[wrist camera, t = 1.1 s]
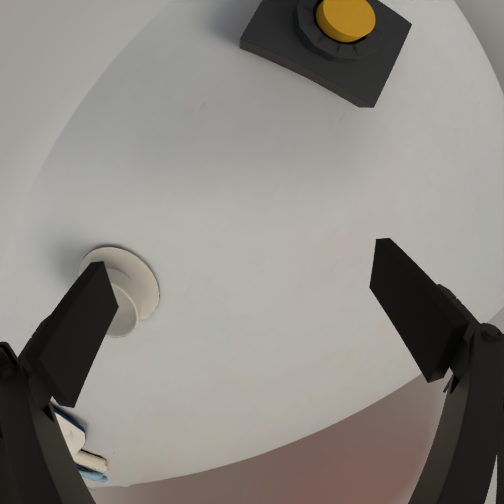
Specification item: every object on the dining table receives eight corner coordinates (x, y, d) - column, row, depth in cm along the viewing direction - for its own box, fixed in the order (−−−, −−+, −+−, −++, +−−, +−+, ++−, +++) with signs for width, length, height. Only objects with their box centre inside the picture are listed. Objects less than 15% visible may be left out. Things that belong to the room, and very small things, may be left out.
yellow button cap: (307, 25, 17) (314, 18, 15) (327, -9, 15) (334, -19, 13) (354, 51, 17) (364, 46, 16) (371, 16, 16) (382, 9, 14)
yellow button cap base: (239, 48, 21) (240, 33, 16) (285, -30, 17) (295, -54, 13) (359, 107, 24) (383, 107, 19) (396, 30, 20) (422, 20, 15)
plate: (12, 409, 46) (8, 417, 43) (7, 372, 39) (2, 381, 36) (80, 448, 51) (78, 456, 49) (93, 422, 44) (89, 433, 42)
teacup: (152, 243, 29) (139, 266, 24) (166, 321, 33) (158, 349, 29) (70, 246, 28) (50, 267, 24) (92, 318, 33) (79, 343, 28)
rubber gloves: (109, 482, 64) (106, 498, 58) (23, 445, 57) (17, 459, 51) (106, 457, 53) (101, 478, 47) (0, 408, 46) (-8, 425, 41)
